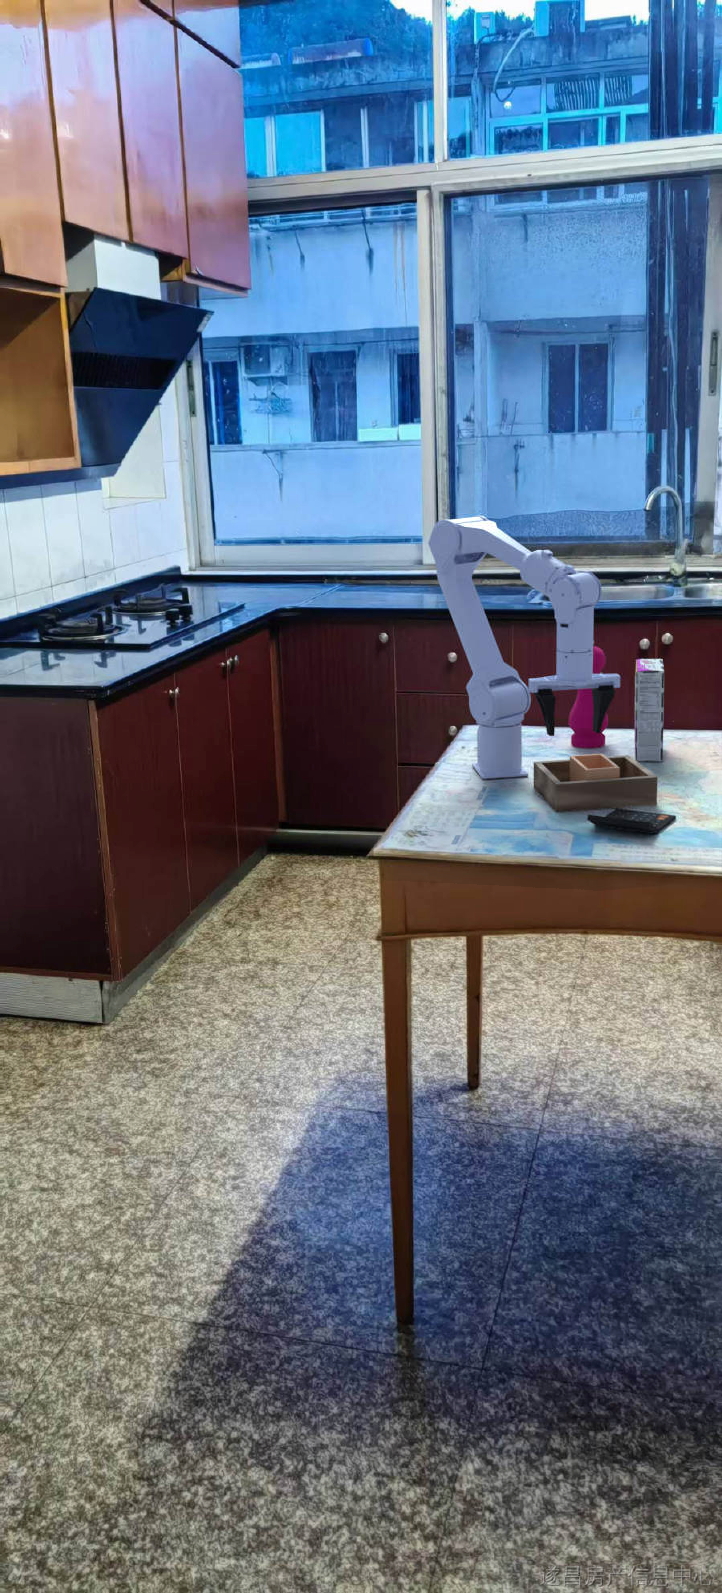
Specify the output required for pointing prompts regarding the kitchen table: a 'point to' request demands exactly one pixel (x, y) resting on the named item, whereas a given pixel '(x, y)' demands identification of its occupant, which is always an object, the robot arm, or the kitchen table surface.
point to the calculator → (633, 820)
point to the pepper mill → (587, 712)
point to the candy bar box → (649, 710)
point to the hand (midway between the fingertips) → (573, 733)
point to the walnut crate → (595, 786)
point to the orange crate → (592, 768)
